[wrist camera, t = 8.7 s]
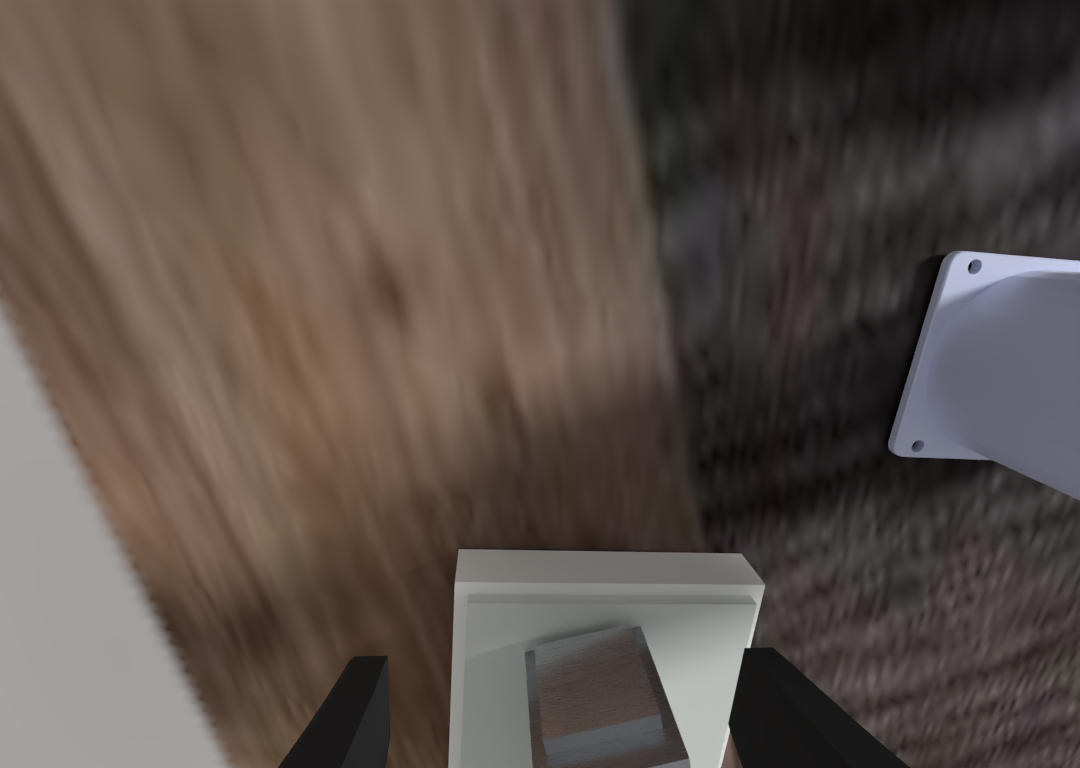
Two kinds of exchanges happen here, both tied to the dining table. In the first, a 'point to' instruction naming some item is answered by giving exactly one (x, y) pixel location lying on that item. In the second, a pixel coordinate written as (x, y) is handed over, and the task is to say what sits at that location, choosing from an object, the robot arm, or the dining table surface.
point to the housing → (600, 704)
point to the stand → (589, 606)
